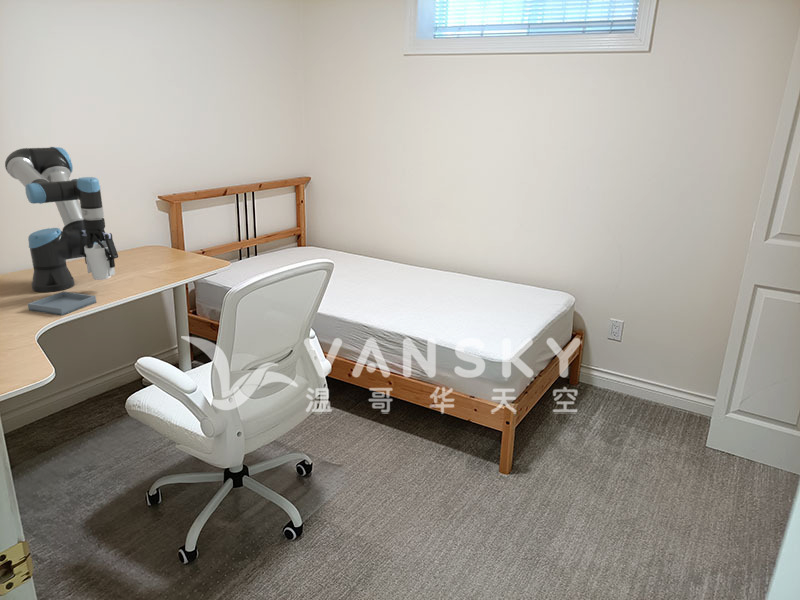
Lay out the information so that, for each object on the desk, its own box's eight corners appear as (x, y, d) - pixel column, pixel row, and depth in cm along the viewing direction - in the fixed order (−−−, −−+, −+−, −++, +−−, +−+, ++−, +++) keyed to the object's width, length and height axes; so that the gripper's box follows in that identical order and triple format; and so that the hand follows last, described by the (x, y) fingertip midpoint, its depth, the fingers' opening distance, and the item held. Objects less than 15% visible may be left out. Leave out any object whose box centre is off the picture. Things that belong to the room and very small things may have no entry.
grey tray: (28, 310, 213) (27, 303, 212) (64, 297, 227) (63, 291, 226) (62, 315, 208) (61, 308, 207) (96, 302, 222) (95, 295, 221)
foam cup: (97, 273, 238) (92, 242, 234) (119, 274, 238) (115, 243, 234) (84, 280, 230) (79, 248, 225) (107, 281, 229) (102, 249, 225)
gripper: (62, 217, 226) (72, 272, 233) (109, 222, 219) (116, 279, 227) (78, 214, 232) (86, 267, 240) (123, 219, 226) (130, 274, 234)
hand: (101, 273), depth 233 cm, fingers closed on foam cup, 9 cm apart
